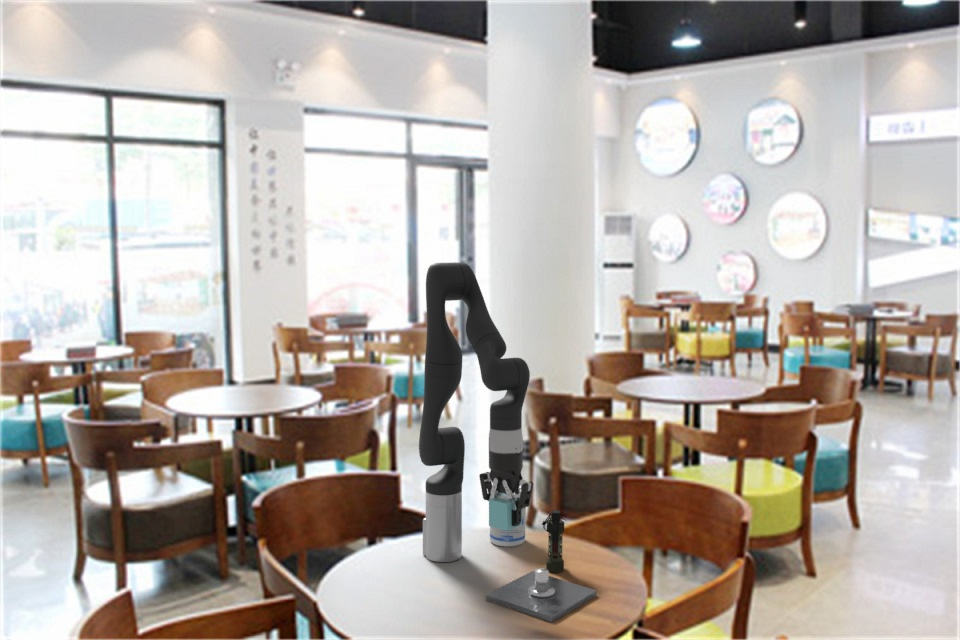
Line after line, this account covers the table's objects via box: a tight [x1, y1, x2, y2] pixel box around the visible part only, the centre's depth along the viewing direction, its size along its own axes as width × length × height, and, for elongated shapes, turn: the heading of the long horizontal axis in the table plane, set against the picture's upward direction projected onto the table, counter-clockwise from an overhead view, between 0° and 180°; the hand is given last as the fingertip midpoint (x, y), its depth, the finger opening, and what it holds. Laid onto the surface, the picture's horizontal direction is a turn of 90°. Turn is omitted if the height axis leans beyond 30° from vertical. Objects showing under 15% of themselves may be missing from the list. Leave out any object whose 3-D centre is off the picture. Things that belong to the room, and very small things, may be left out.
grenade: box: [541, 509, 568, 573], centre depth 212 cm, size 6×6×15 cm
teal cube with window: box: [488, 495, 522, 531], centre depth 193 cm, size 5×5×6 cm
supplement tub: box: [489, 486, 527, 548], centre depth 232 cm, size 10×10×15 cm
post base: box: [485, 567, 598, 623], centre depth 196 cm, size 18×18×6 cm
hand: (505, 522), depth 194 cm, fingers closed on teal cube with window, 5 cm apart
